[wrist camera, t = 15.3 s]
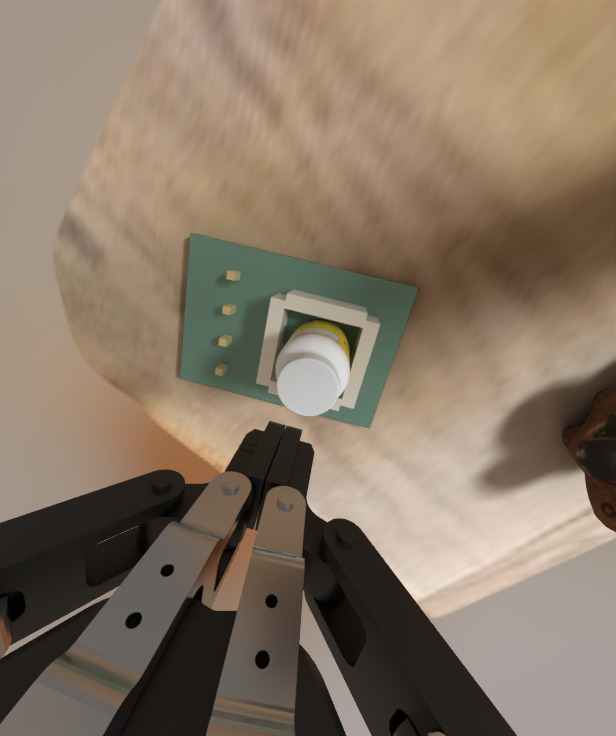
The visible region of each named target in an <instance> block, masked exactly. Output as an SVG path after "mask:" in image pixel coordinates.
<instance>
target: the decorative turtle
mask: <svg viewBox="0 0 616 736" xmlns="http://www.w3.org/2000/svg"><path fill="white" fill-rule="evenodd" d="M562 438H563V441H564V443H565V445H566V447H567V449H568V450H569V452H570V453H571V455H572V456H573V458H574V459H575V461H576V462H577V464H578V465H579V466H580V467H581V469H582V470H583V472H584V473H585V481H586V488H587V493H588V497H589V500H590V503H591V506H592V508H593V511H594V514H595V515H596V517H597V518H598V519H599V520H600V521H601V522H602V523H603V524H604V525H605V526H606V527H608V528H609V529H611V530H613V531H615V532H616V390H615V389H609V390H604V391H601V392H599V393H597V394H596V396H595V398H594V401H593V404H592V409H591V412H590V415H589V416H588V418H587V419H586V421H585V422H584V424H583V425H577V426H571V427H568V428H567V429H566V430H564V432H563V434H562Z"/></svg>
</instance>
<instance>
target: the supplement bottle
mask: <svg viewBox="0 0 616 736" xmlns="http://www.w3.org/2000/svg"><path fill="white" fill-rule="evenodd" d="M275 373H276V379H277V393H278V396H279V398H280V400H281V401H282V403H283V404H284V405H285V406H286V407H287V408H288V409H289V410H291V411H292V412H294V413H296V414H299V415H303V416H316V415H320V414H322V413H324V412H326V411H327V410H329V409H330V408H331V407H332V406H333V405H334V403H335V402H336V400H337V398H338V397H339V396H340V395H341V394H342V393H343V391H344V390H345V388H346V386H347V384H348V381H349V376H350V356H349V342H348V338H347V336H346V334H345V332H344V331H343V329H342V328H341V327H340V326H338V325H337V324H336V323H334V322H332V321H330V320H326V319H312V320H309V321H306V322H305V323H303V324H302V325H300V326H299V327H298V328H297V329H296V331H295V332H294V333H293V335H292V336H291V337H290V339H289V340H288V342H287V343H286V345H285V346H284V347H283V349H282V350H281V352H280V354H279V356H278V358H277V361H276V367H275Z"/></svg>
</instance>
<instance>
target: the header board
mask: <svg viewBox="0 0 616 736" xmlns="http://www.w3.org/2000/svg"><path fill="white" fill-rule="evenodd" d="M417 291H418V288H417V287H413V286H409V285H405V284H401V283H397V282H393V281H388V280H384V279H380V278H376V277H372V276H368V275H364V274H360V273H355V272H351V271H347V270H343V269H339V268H335V267H331V266H327V265H322V264H318V263H314V262H310V261H306V260H302V259H298V258H294V257H289V256H285V255H281V254H277V253H273V252H269V251H265V250H261V249H256V248H252V247H248V246H244V245H240V244H236V243H232V242H228V241H223V240H219V239H215V238H211V237H207V236H203V235H199V234H194V233H190V246H189V260H188V274H187V288H186V302H185V315H184V329H183V343H182V357H181V371H180V378H181V379H185V380H189V381H192V382H196V383H200V384H204V385H207V386H211V387H215V388H219V389H223V390H226V391H230V392H234V393H238V394H241V395H245V396H249V397H253V398H256V399H260V400H264V401H268V402H272V403H275V404H279V405H283V406H285V405H284V404H283V403H282V401H281V400H280V398H279V396H278V393H277V379H276V373H275V367H276V361H277V358H278V356H279V354H280V352H281V350H282V349H283V347H284V346H285V345H286V343H287V342H288V340H289V339H290V337H291V336H292V335H293V333H294V332H295V331H296V329H297V328H298V327H299V326H300V325H302V324H303V323H305V322H306V321H309V320H312V319H326V320H330V321H332V322H334V323H336V324H337V325H338V326H340V327H341V328H342V329H343V331H344V332H345V334H346V336H347V338H348V342H349V356H350V376H349V381H348V384H347V386H346V388H345V390H344V391H343V393H342V394H341V395H340V396H339V397H338V398H337V400H336V402H335V403H334V405H333V406H332V407H331V408H330V409H329V410H327V411H326V412H324V413H322V414H320V415H321V416H324V417H328V418H332V419H336V420H339V421H343V422H347V423H351V424H355V425H358V426H362V427H366V428H370V426H371V423H372V420H373V417H374V414H375V412H376V409H377V406H378V403H379V400H380V397H381V394H382V391H383V389H384V386H385V383H386V380H387V377H388V374H389V371H390V369H391V366H392V363H393V360H394V357H395V354H396V351H397V349H398V346H399V343H400V340H401V337H402V334H403V331H404V329H405V326H406V323H407V320H408V317H409V314H410V311H411V308H412V306H413V303H414V300H415V297H416V294H417Z"/></svg>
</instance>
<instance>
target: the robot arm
mask: <svg viewBox="0 0 616 736" xmlns="http://www.w3.org/2000/svg"><path fill="white" fill-rule="evenodd" d="M301 433H302V430H301V429H298V428H294V427H290V426H286V429H285V425H282V424H279V423H275V422H271V421H269V423H268V425H267V427H266V429H265V431H261V430H257V429H254V430H252V431H251V432H249V433H248V434H246V436H245V438H244V439H243V441H242V443H241V445H240V446H239V448H238V450H237V451H236V453H235V455H234V456H233V458H232V460H231V462H230V463H229V465H228V467H227V468H226V470H225V472H223V473H220V474H218V475H216V476H215V477H214V478H213V479H212V480H211V482H209V483H205V484H185V480H184V478H183V476H182V475H181V474H180V473H178V472H176V471H173V470H157V471H154V472H151V473H148V474H145V475H142V476H139V477H136V478H133V479H130V480H127V481H124V482H121V483H118V484H115V485H112V486H109V487H106V488H103V489H100V490H97V491H94V492H91V493H88V494H85V495H82V496H79V497H76V498H73V499H70V500H67V501H65V502H61V503H58V504H55V505H52V506H49V507H46V508H43V509H40V510H37V511H34V512H31V513H29V514H25V515H23V516H20V517H17V518H14V519H11V520H8V521H5V522H2V523H0V736H346V734H345V731H344V729H343V726H342V724H341V721H340V719H339V717H338V714H337V712H336V709H335V707H334V704H333V702H332V700H331V697H330V695H329V692H328V690H327V687H326V685H325V682H324V680H323V678H322V675H321V674H320V672H319V670H318V668H317V666H316V664H315V663H314V661H313V660H312V658H311V657H310V655H309V654H308V653H307V652H306V651H305V649H304V648H303V647H302V646H301V645H300V644H299V640H300V626H301V611H302V597H303V590H304V593H305V599H306V601H307V603H308V606H309V608H310V610H311V612H312V614H313V616H314V618H315V620H316V622H317V624H318V626H319V628H320V630H321V632H322V634H323V636H324V638H325V641H326V643H327V645H328V647H329V649H330V651H331V653H332V655H333V657H334V659H335V661H336V663H337V665H338V667H339V669H340V671H341V674H342V676H343V678H344V680H345V682H346V684H347V686H348V688H349V690H350V692H351V694H352V696H353V698H354V700H355V702H356V704H357V706H358V708H359V711H360V713H361V715H362V717H363V719H364V721H365V723H366V725H367V727H368V729H369V731H370V733H371V735H372V736H517V735H516V734H515V732H514V731H513V730H512V729H511V727H510V726H509V724H508V723H507V722H506V721H505V719H504V718H503V717H502V716H501V714H500V713H499V711H498V710H497V709H496V707H495V706H494V705H493V703H492V702H491V701H490V699H489V698H488V697H487V696H486V694H485V693H484V691H483V690H482V689H481V687H480V686H479V685H478V684H477V682H476V681H475V680H474V678H473V677H472V676H471V674H470V673H469V672H468V670H467V669H466V668H465V666H464V665H463V664H462V662H461V661H460V660H459V658H458V657H457V656H456V654H455V653H454V652H453V650H452V649H451V648H450V647H449V645H448V644H447V643H446V641H445V640H444V639H443V637H442V636H441V635H440V633H439V632H438V631H437V629H436V628H435V627H434V625H433V624H432V623H431V622H430V620H429V619H428V617H427V616H426V615H425V613H424V612H423V611H422V610H421V608H420V607H419V606H418V604H417V603H416V602H415V600H414V599H413V598H412V596H411V595H410V594H409V592H408V591H407V590H406V588H405V587H404V586H403V584H402V583H401V582H400V580H399V579H398V578H397V576H396V575H395V574H394V573H393V571H392V570H391V569H390V567H389V566H388V565H387V563H386V562H385V561H384V559H383V558H382V557H381V555H380V554H379V553H378V551H377V550H376V549H375V547H374V546H373V545H372V543H371V542H370V541H369V539H368V538H367V537H366V536H365V534H364V533H363V532H362V530H361V529H360V528H359V527H358V526H357V525H356V524H354V523H353V522H351V521H349V520H346V519H340V518H338V519H333V520H331V521H329V522H326V521H324V520H323V519H321V518H319V517H318V516H317V515H315V514H314V513H313V512H312V511H311V509H310V508H309V506H308V504H307V499H306V496H307V490H308V485H309V479H310V474H311V468H312V462H313V457H314V450H313V448H312V445H311V444H309V443H305V442H302V441H300V437H301ZM257 518H258V519H257ZM256 520H257V524H256V528H255V530H257V535H256V539H255V543H254V547H253V550H252V554H251V558H250V562H249V566H248V570H247V574H246V578H245V582H244V586H243V590H242V594H241V598H240V602H239V606H238V610H237V611H214V610H212V606H213V603H214V601H215V598H216V596H217V594H218V592H219V590H220V588H221V585H222V583H223V581H224V579H225V577H226V575H227V573H228V571H229V568H230V566H231V564H232V562H233V560H234V558H235V556H236V554H237V551H238V549H239V547H240V543H241V541H242V539H243V536H244V534H245V531H246V529H247V528H250V529H254V526H255V523H256ZM136 526H137V527H136ZM134 527H135V528H134ZM131 528H133V529H131ZM129 529H130V530H129ZM127 530H128V531H127ZM124 531H126V532H124ZM122 532H124V533H122ZM120 533H122V534H120ZM118 534H119V535H118ZM115 535H117V536H115ZM113 536H115V537H113ZM111 537H112V538H111ZM109 538H110V539H109ZM106 539H108V540H106ZM104 540H106V541H104ZM102 541H103V542H102ZM100 542H101V543H100ZM98 543H99V544H98ZM118 586H119V587H118ZM116 587H118V589H117V590H116V591H115V592H114V594H113V595H112V596H111V597H110V598H107V599H104V600H102V601H100V602H98V603H95V604H94V605H92V606H90V607H88V608H86V609H84V610H83V611H81V612H79V613H78V614H76V615H74V616H72V617H71V618H69V619H68V620H66V621H64V622H62V623H61V624H59V625H57V626H55V627H54V628H52V629H50V630H49V631H47V632H45V633H43V634H42V635H40V636H38V637H37V638H35V639H33V640H32V641H30V642H28V643H26V644H25V645H23V646H21V647H20V648H18V649H16V650H15V651H13V652H11V653H9V654H8V655H6V656H4V654H5V653H6V651H7V649H8V648H9V646H10V645H12V644H13V643H16V642H17V641H19V640H21V639H23V638H25V637H27V636H28V635H30V634H32V633H34V632H36V631H38V630H39V629H41V628H43V627H44V626H46V625H49V624H50V623H52V622H54V621H56V620H58V619H59V618H61V617H63V616H65V615H67V614H69V613H70V612H72V611H74V610H76V609H78V608H80V607H81V606H83V605H85V604H87V603H89V602H91V601H92V600H94V599H96V598H98V597H100V596H102V595H103V594H105V593H107V592H109V591H111V590H113V589H114V588H116ZM3 656H4V657H3ZM2 657H3V658H2Z"/></svg>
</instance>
